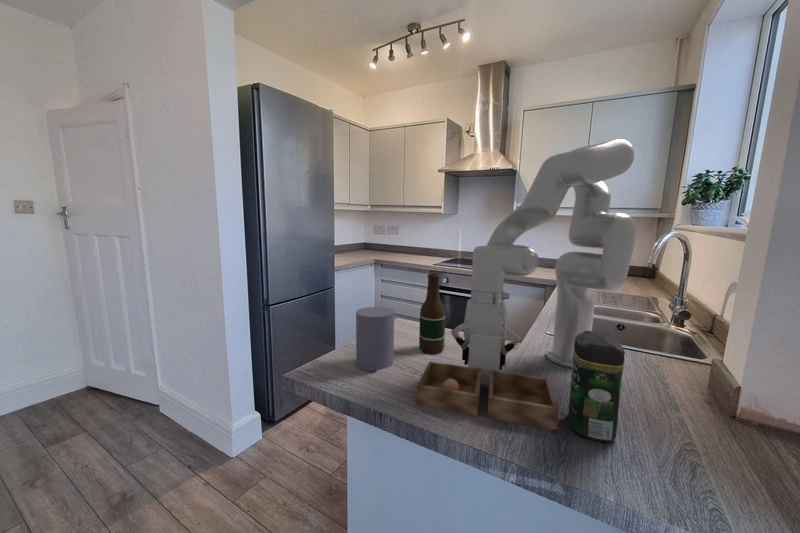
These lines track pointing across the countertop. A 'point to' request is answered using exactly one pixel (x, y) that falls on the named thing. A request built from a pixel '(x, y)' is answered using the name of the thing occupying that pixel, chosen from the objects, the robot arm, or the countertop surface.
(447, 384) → the ball
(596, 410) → the coffee jar
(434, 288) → the beer bottle
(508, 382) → the bin
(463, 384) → the bin
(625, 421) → the countertop surface
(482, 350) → the supplement box
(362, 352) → the container
